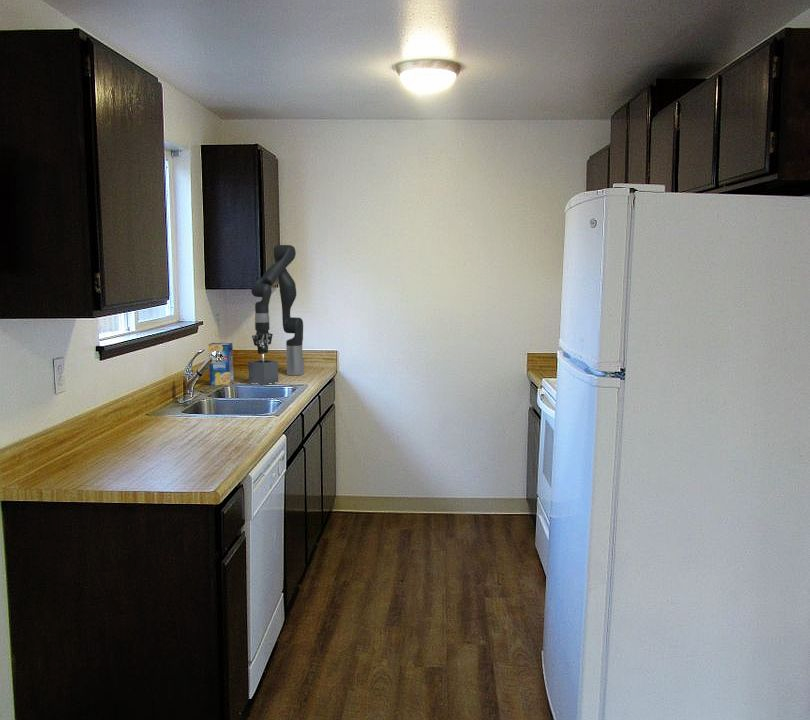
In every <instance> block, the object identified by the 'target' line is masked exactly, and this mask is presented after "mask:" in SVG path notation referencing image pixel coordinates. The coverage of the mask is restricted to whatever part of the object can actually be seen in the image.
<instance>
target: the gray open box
mask: <svg viewBox="0 0 810 720" xmlns="http://www.w3.org/2000/svg"><path fill="white" fill-rule="evenodd" d="M247 367H248V384H249V383H258V384H264V385H265V384H269V383H275V382H278V383H279V361H278V360H273V359H272V360H271V359H269V360H268V359H264V363H262V359H258V360H257V359H256V360H251V361H248V366H247Z"/></svg>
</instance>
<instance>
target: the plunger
mask: <svg viewBox="0 0 810 720" xmlns="http://www.w3.org/2000/svg"><path fill="white" fill-rule="evenodd" d="M261 347H262V354H261V360H262V363H264V360H265V353H264V351H267V345H264V344H262V346H261Z"/></svg>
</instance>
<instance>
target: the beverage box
mask: <svg viewBox="0 0 810 720" xmlns="http://www.w3.org/2000/svg"><path fill="white" fill-rule="evenodd" d="M233 347H234V346H233V342H211V343H208V358H209V357H210V355H211V353H212V352H214V351H219V352H221V353H222V354H223V357H224V359H223V361H222V362H216V361H212V362H211V363H210V365H208V366H209V386H218V385H220V384H231V383H232V382H234V381H235V380H234V378H235V377H234V352H233V351H234V350H233V349H234V348H233Z"/></svg>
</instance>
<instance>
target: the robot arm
mask: <svg viewBox="0 0 810 720" xmlns="http://www.w3.org/2000/svg"><path fill="white" fill-rule="evenodd" d="M273 257H274V258H273V259H274V262H275V263H274V264H272V265H270V266H269V267H268V268H267V269H266V270H265V272H264V273H263V275H262V276H261V277H260V278H259V279H258V280H257V281H256V282H255V283H254V284H253V285H252V287H251V295H252V296H254V297H255V298H261V300H260V301H256V302H255V303H254V304H255V305H254V309H255V310H254V311H255V312H254V313H255V314H254V330H255V331H256V333H255V334H253V335H252V336H251V338H252V341H253V345H254V346H256V347H257V353H258V355H260V354H261V355H262V347H261V346H262V345H267V351H264V354H268V353H269V345H271V344H272V338H273V335H274V334H273V333H269V331H270V315H269V314H270V313H269V310H270V309H269V305H270V302H271V301H270V300H271V296H272V290H273V289H272V286H273V285H274V284H275V282H276V281H277V279H278V288H279V295H280V301H281V317H282V320H281V321H282V329H283V331H284V332H285V333H286V334H294V335H293V337H292V338H288V339H286V345H285V346H286V352H285V353H286V375H287V376H303V374H305V364H304V363H305V361H304V360H305V359H304V357H303V342H304V341H303V340H304V321H303V319H302V318H301V317H292V316H291V309H292V306H293V304H294V302H295V301H296V297H297V287H296V282H295V280H294V279H293V277H292V276H291V274H290V273H289V271H288V270H287V267H288V266H289V265H290V264H292V262H293V261H294V260H295V258H296V248H295V247H294V246H293V245H290V244H277V245H275V246H274V248H273Z"/></svg>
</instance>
